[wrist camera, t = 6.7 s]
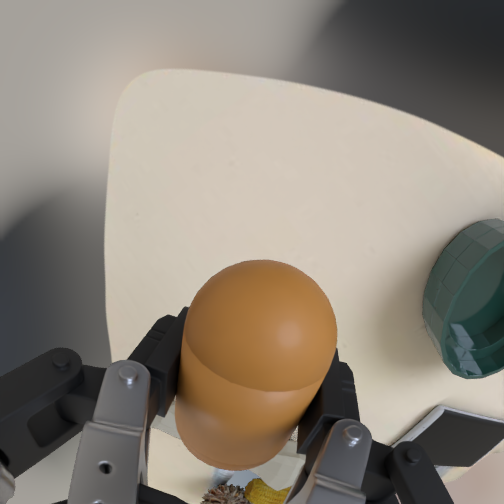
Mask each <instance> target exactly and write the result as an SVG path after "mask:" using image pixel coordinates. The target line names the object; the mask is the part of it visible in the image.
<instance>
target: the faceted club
mask: <svg viewBox="0 0 504 504" xmlns="http://www.w3.org/2000/svg"><path fill="white" fill-rule="evenodd" d="M151 428H155V429H159V430H161V431H163V432H165V433H167V434H169V435H172V436H174V437H176V438H179V439H181V438H180V436H179V433H178V431H177V427H176V423H175V401H173V402H172V404H171V406H170V408H169V410H168V412H167V414H166V416H165V418H164V417H161V416H158V415H156V417H155V419H154V420H153V422H152V424H151ZM296 451H297V441H294V440H288V442H287V443H286V445H285V446H284V447H283V449H282V450H281V451H280V452H279V453H278V454H277V455H276V456H275V457H274V458H272V459H271V460H269V461H268V462H266V463H264V464H262V465H260V466H257V467H255V468H252V469H248V470H250V471H252V472H253V473H255V474H257V475H258V476H259V477H260V478H261V479H262V480H263V481H264V482H265V483H266V484H267V485H268V486H270V487H271V488H273V489H275V490H276V491H279V490H282V489H285V488H287V487H290V486H292V485H293V483H294V481H295V479H296V477H297V475H298V473H299V471H300V469H301V467H302V466H303V464H304V463H305V459H306V455H303V454H297V453H296Z"/></svg>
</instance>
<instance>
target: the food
mask: <svg viewBox="0 0 504 504" xmlns="http://www.w3.org/2000/svg"><path fill="white" fill-rule="evenodd" d="M291 487H292V486H290V487H287V488H285V489H282V490H279V491H276V490H275V489H273V488H271V487H270V486H268V485H267V484H266V483H265V482H264V481H263V480H262V479H260V478H257V479H253V480H252V481H251V482H249V483H248V485H247V486H246V487H245V493H244V496H245V497H246V499H247V500H248V501H250V502H251V503H253V504H283V502H284V500H285V499H286V497H287V495H288V493H289V491H290V489H291Z"/></svg>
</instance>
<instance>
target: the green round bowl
mask: <svg viewBox="0 0 504 504" xmlns="http://www.w3.org/2000/svg"><path fill="white" fill-rule="evenodd" d="M422 315H423V319H424V322H425V326H426V330H427V333H428V334H429V336H430V338H431V340H432V342H433V343H434V345H435V347H436V349H437V351H438V353H439V355H440V356H441V358H442V360H443V362H444V364H445V365H446V366H447V367H448V369H449V370H450V371H451V372H452V374H454V375H457V376H460V377H462V378H465V379H478V378H484V377H487V376H490V375H492V374H495V373H498V372H500V371H501V370H503V369H504V221H503V220H500V219H491V220H485V221H480V222H477V223H475V224H474V225H472V226H470V227H469V228H467V229H465V230H463V231H462V232H460V233H459V234H458V235H457V236H456V238H455V239H454V240H453V241H452V242H451V243H450V244H449V245H448V246H447V247H446V248H445V249H444V250H443V252H442V254H441V256H440V257H439V259H438V261H437V262H436V264H435V266H434V267H433V269H432V270H431V273H430V277H429V280H428V283H427V286H426V289H425V292H424V298H423V314H422Z"/></svg>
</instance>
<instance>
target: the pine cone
mask: <svg viewBox="0 0 504 504" xmlns="http://www.w3.org/2000/svg"><path fill="white" fill-rule="evenodd" d="M243 489H244V488H241V489H240V486H236V487H235V486H233V484H231V485H230V486H227V484H225V485H219V487H217V488H215V487H213V488H212V489H211V490H209V489H208V492H209V493H207V494H204V495H205V496H204V497H202V498H203V499H205V501H202V502H203V503H200V504H253V503H251V502H250V501H248V500H247V499H246V497H245V496H244V493H245V492H244V490H243Z"/></svg>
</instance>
